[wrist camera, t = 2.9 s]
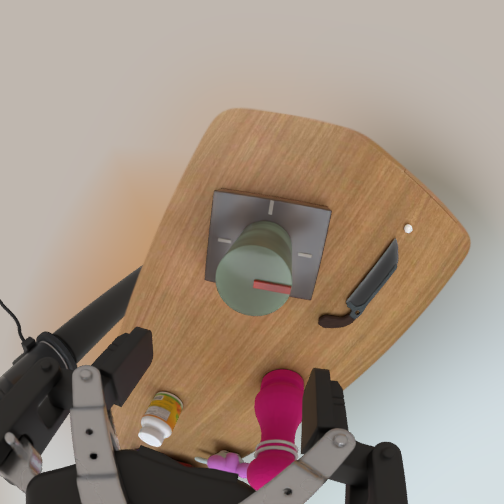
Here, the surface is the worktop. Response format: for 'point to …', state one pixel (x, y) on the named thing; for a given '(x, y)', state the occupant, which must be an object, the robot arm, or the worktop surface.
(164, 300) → the worktop surface
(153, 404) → the supplement bottle
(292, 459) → the pepper mill
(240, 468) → the toy
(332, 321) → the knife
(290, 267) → the knob
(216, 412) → the worktop surface
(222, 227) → the dark brown base block
